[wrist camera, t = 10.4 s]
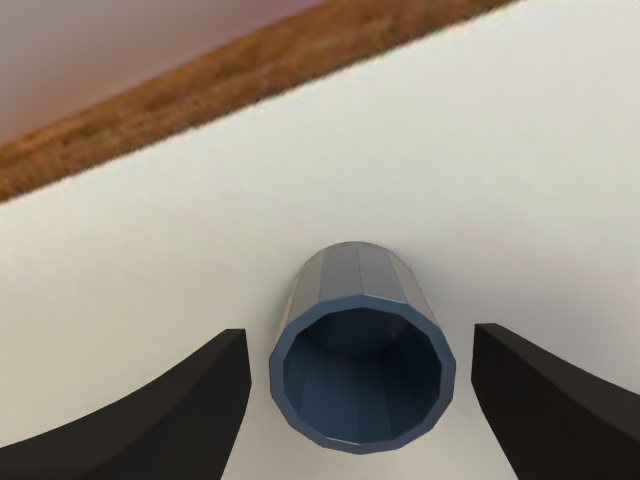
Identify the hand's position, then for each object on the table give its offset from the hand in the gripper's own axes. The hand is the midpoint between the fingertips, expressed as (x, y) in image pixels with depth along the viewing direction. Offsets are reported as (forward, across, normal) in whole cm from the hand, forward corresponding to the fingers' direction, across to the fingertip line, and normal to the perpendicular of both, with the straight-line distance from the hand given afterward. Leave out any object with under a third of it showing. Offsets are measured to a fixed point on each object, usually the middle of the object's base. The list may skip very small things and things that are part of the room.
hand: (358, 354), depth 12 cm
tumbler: (+4, 0, 0) cm, 4 cm away
